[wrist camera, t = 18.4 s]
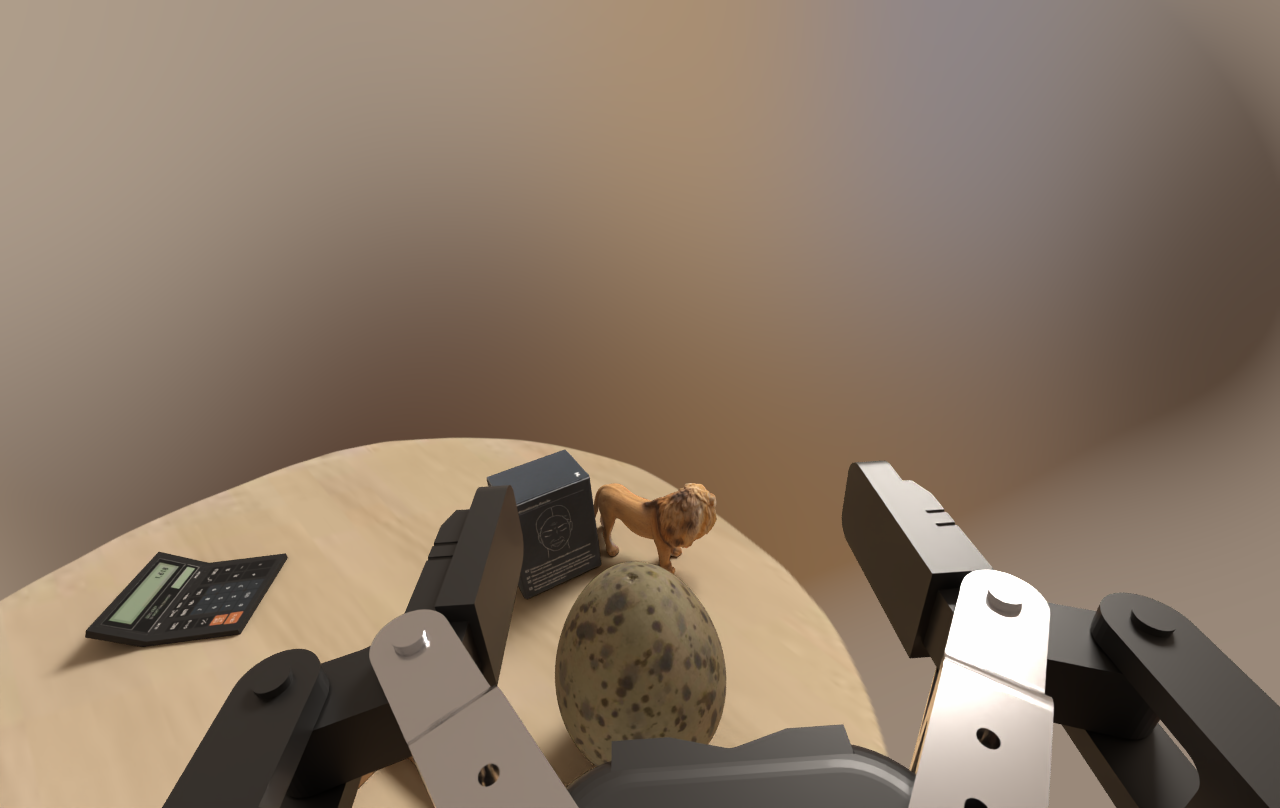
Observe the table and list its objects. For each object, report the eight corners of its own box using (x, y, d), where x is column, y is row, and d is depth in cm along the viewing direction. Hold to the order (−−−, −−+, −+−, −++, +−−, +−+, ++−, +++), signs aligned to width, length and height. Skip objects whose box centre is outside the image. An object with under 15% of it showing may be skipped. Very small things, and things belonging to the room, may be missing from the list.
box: (578, 533, 57) (566, 447, 52) (602, 566, 53) (592, 476, 48) (504, 563, 54) (484, 474, 49) (524, 602, 49) (504, 509, 44)
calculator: (241, 636, 48) (227, 612, 47) (99, 655, 47) (80, 631, 46) (288, 559, 56) (278, 537, 55) (168, 574, 55) (154, 552, 54)
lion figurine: (723, 550, 54) (724, 475, 49) (706, 590, 49) (707, 511, 45) (590, 517, 59) (581, 446, 55) (565, 550, 55) (553, 477, 51)
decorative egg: (581, 664, 44) (558, 515, 36) (719, 667, 43) (722, 515, 36) (554, 819, 34) (514, 658, 27) (730, 827, 33) (737, 664, 26)
